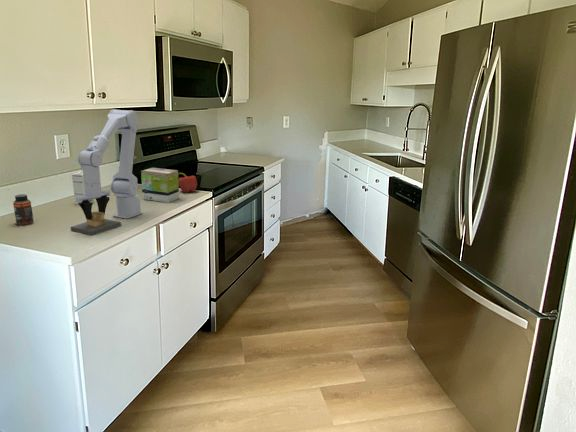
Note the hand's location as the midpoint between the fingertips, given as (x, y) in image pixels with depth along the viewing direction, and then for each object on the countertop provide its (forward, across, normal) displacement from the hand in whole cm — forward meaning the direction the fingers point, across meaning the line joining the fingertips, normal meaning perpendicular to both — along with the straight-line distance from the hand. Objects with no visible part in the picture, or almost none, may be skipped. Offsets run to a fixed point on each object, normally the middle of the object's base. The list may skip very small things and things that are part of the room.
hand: (95, 217), depth 163 cm
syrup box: (+5, -24, -34) cm, 42 cm away
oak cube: (+3, 0, 0) cm, 3 cm away
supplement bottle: (+5, +10, -28) cm, 30 cm away
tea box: (+5, -48, -10) cm, 50 cm away
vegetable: (+5, -69, -9) cm, 70 cm away
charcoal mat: (+4, 0, 0) cm, 4 cm away
